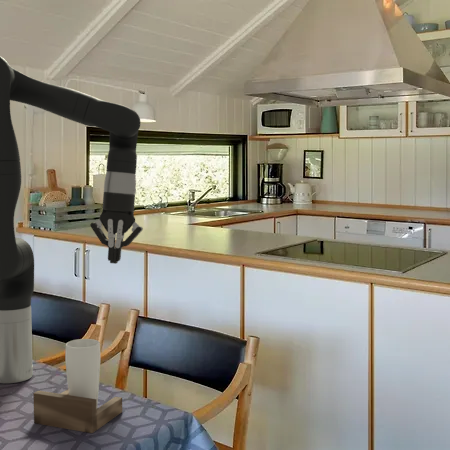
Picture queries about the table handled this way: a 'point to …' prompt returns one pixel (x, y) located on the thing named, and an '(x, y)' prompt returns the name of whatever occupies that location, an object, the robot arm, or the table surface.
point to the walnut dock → (73, 411)
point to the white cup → (83, 367)
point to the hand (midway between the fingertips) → (113, 263)
